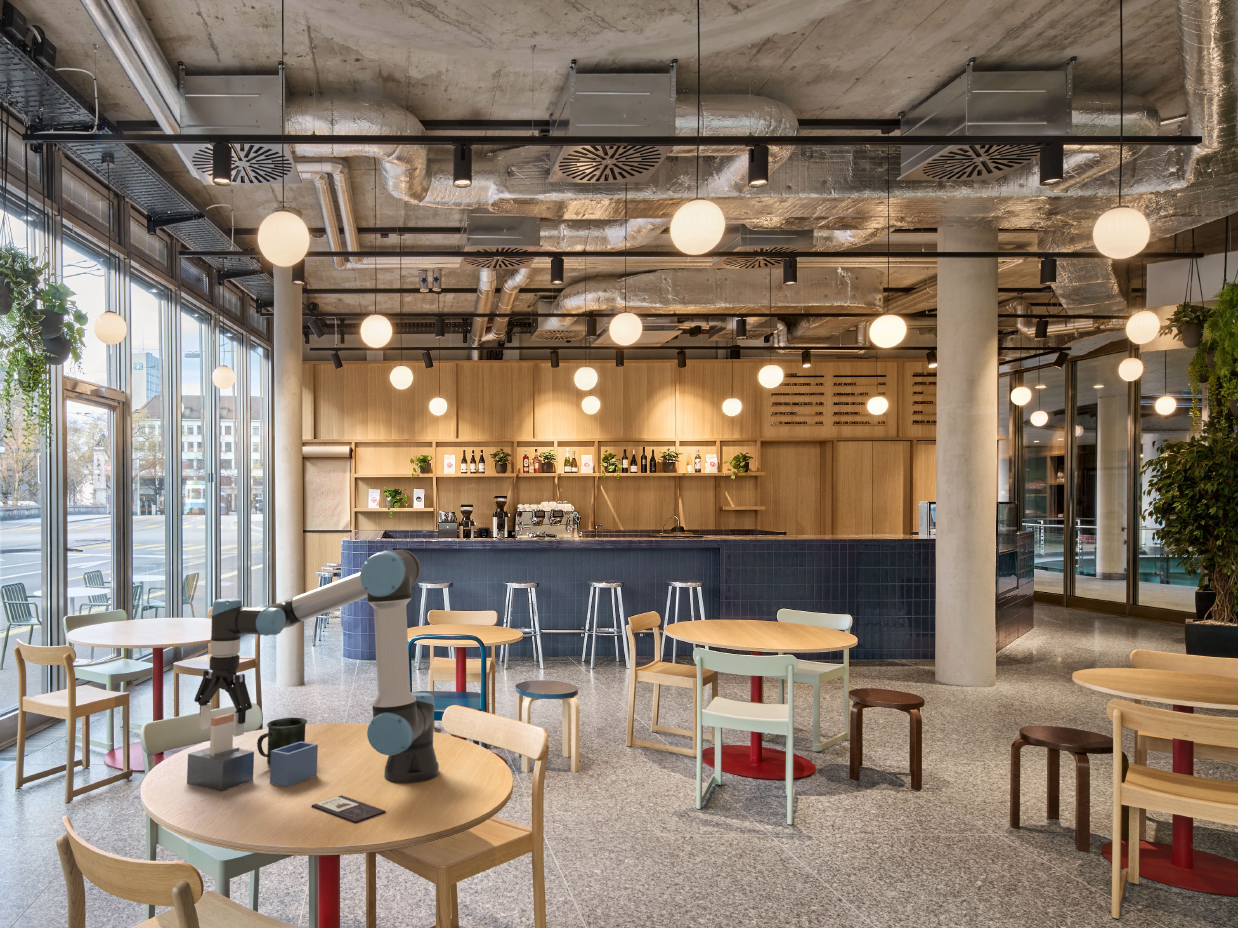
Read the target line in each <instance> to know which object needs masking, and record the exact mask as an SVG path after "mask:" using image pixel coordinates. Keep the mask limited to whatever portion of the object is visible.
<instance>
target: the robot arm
mask: <svg viewBox="0 0 1238 928" xmlns="http://www.w3.org/2000/svg"><path fill="white" fill-rule="evenodd" d="M421 570H422V569H421V563H420V561H419V559H418V557H417V556H416V555H415V554H414V553H412V552H411V551H409V550H407V549H394V550H383V551H379V552H376V553H374V554H373V555H371V556H369V557H368V558H367V559H366V560H365V561H364V562H363V564H362V566H361V569H360V571H358V572H357V573H353V574H351V575H349V576H346V577H344V578H342V579H341V578H340V579H339V580H336V581H333V582H331V583H328V584H326V585H323V586H321V587H318V588H315V589H313V590H310V591H307V592H305V593H301V594H300V595H297V596H294V597H292V598H289V599H286V600H284V601H280V602H277V603H273V604H270V605H264V606H243V600H242V599H240V598H236V597H235V598H232V597H228V598H219V599H215V600H214V601H213V603H212V610H211V611H212V612H211V633H210V634H211V635H210V647H209V654H210V655H211V656H210V657H209V669H206V670H204V671H203V675H202V680H201V682H200V684H199V687H198V690H197V691H196V694H195V697H194V702H195V703H198V705H199V730H200V731H201V730H202V731H203V730H206V729H209V728H210V729H211V718H212V717H211V716H212V715H211V713H212V712H211V711H212V709H211V708H212V704H211V703H212V702H211V700H212V699H213V697H214V696H215V694H216V693H217V692H218V691H219V689H221V690H224V691H225V692H226V693H227V694H228V696H229V697H230V700H231V701H232V704H233V706H234V708H235V709H236V710H235V711H234V713H233V714H234V721H233V738H234V737H235V738H237V737H239V736H243V735H244V732H245V723H246V715H247V713H246V712H247V711H249V710H252V709H253V706H252V701H251V698H250V695H249V691H248V687H247V683H246V675H245V673H240V674H237V669H239V668H240V658H241V657H240V656H241V655H240V654H239V653H241V652H240V650H241V636H242V635H255V636H256V635H258V636H259V635H260V636H266V637H268V636H277V635H279V634H281V633H282V631H283V630H284V629H287V628H291V627H294V626H295V625H297V624H300V623H302V622H304V621H307V620H309V619H312V618H315V617H318V616H321V615H323V614H326V613H328V612H330V611H333V610H337V609H338V608H339V609H340V608H342V607H344V606H347V605H350V604H351V603H355V602H357V601H360V600H363V599H365V598H367V603H368V604H369V605H370V606H371V607H372V609H373V613H374V615H373V616H374V617H373V618H374V619H373V620H374V634H375V635H374V638H375V639H374V640H375V641H374V642H375V661H376V662H375V663H376V684H377V685H376V686H377V697H376V699H374V700H373V702H372V703H371V705H372V719H371V721H370V722H369V724H368V726H367V731H366V735H367V740H368V743H369V744H370V746H371V747H372V748H373V750H375V751H376V752H377V753H379V754H381V755H384V756H388V757H387V759H386V764H385V767H384V771H383V772H384V778H385V779H386V780H388V781H390V782H394V783H419V782H423V781H429V780H432V779H433V778H435V777H437V776H438V774H439V773H440V772H439V769H440V767H439V762H438V761H437V755H436V752H435V748H434V723H435V722H434V721H435V720H434V719H435V698H434V695H433V694H431V693H428V692H411V678H410V676H411V675H410V661H409V660H410V658H409V657H410V656H409V637H408V633H409V632H408V616H407V615H408V614H407V604H408V603H409V602H410V601H411V600H412V587H413V586H414V585H415V584H416V583H417V582H418V581H419V578H420V575H421Z"/></svg>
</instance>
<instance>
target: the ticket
mask: <svg viewBox="0 0 1238 928" xmlns="http://www.w3.org/2000/svg"><path fill="white" fill-rule="evenodd" d="M233 735H234V713H231V712H230V713H226V714H221V715H218V716H213V717H211V718H210V739H209V740H210V741H209V742H210V743H209V744H210V746H209V748H210V756H213V754H216V753H219V752H223V751H226V750H229V749H232V748H233V747H234V746H233V741H234V736H233Z"/></svg>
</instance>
